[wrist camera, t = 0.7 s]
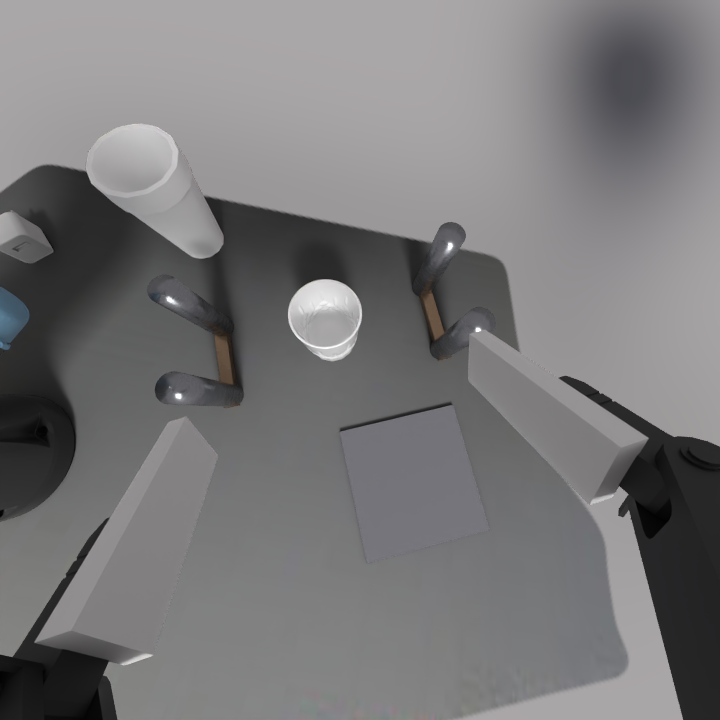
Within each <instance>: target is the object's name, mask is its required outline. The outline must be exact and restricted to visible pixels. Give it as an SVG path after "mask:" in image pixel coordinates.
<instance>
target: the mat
mask: <svg viewBox="0 0 720 720" xmlns="http://www.w3.org/2000/svg"><path fill="white" fill-rule="evenodd" d="M340 436H341V440H342V445H343V450H344V455H345V460H346V465H347V469H348V474H349V479H350V484H351V489H352V494H353V498H354V503H355V508H356V513H357V518H358V523H359V527H360V532H361V537H362V542H363V547H364V552H365V556H366V561H367V564H369V563H372V562H376V561H379V560H383V559H386V558H390V557H394V556H397V555H401V554H404V553H408V552H412V551H415V550H419V549H422V548H426V547H430V546H433V545H437V544H440V543H444V542H447V541H451V540H455V539H458V538H462V537H465V536H469V535H473V534H476V533H480V532H483V531H487V530H490V529H489V525H488V522H487V519H486V515H485V512H484V508H483V505H482V502H481V498H480V495H479V491H478V488H477V485H476V481H475V478H474V474H473V471H472V468H471V464H470V461H469V457H468V454H467V450H466V447H465V444H464V440H463V437H462V433H461V430H460V427H459V423H458V420H457V416H456V413H455V410H454V406H453V405H449V406H445V407H441V408H437V409H433V410H428V411H424V412H420V413H416V414H412V415H407V416H403V417H399V418H395V419H391V420H386V421H382V422H378V423H374V424H370V425H365V426H361V427H357V428H353V429H349V430H344V431H340Z"/></svg>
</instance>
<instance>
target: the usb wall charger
mask: <svg viewBox="0 0 720 720" xmlns="http://www.w3.org/2000/svg"><path fill="white" fill-rule="evenodd" d="M0 251H1V252H3V253H6V254H8V255H10V256H12V257H14V258H17V259H19V260H21V261H23V262H25V263H34V262H36V261H38V260H40V259H42V258H43V257H45V256H47V255H49V254H51V253H53V249H52V247H51V245H50V244H49V242H48V240H47V239H46V237H45V235H44V234H43V232H42V230H41V229H40V228H39V227H38V226H36V225H34V224H33V223H31V222H29V221H27V220H26V219H24V218H22V217H21V216H19V215H18V214H17V213H16V212H14V211H12V210H11V212H6V213H4V214H2V215H0Z"/></svg>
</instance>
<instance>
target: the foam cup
mask: <svg viewBox="0 0 720 720" xmlns="http://www.w3.org/2000/svg"><path fill="white" fill-rule="evenodd" d="M85 169H86V172H87V174H88V176H89V179H90V181H91V184H93V185H94V186H95V187H96V188H97V189H98V190H99V191H101V192H102V193H103V194H104V195H105V196H106V197H107V198H109V199H110V200H111V201H112V202H113V203H115V204H116V205H117V206H119V207H120V208H122V209H123V210H124V211H126V212H130V213H131V214H133V215H134V216H136V217H137V218H138V219H140V220H141V221H143V222H144V223H145V224H147V225H148V226H150V227H151V228H152V229H154V230H155V231H157V232H158V233H159V234H161V235H162V236H164V237H165V238H166V239H168V240H169V241H171V242H172V243H173V244H175V245H176V246H178V247H179V248H180V249H182V250H183V251H185V252H186V253H187V254H189V255H190V256H192V257H194V258H200V259H203V258H208V257H211V256H213V255H214V254H216V253H217V252H219V250H220V248H221V247H222V245H223V240H224V235H223V233H222V231H221V229H220V227H219V225H218V223H217V221H216V219H215V217H214V215H213V214H212V212H211V210H210V208H209V206H208V204H207V202H206V200H205V198H204V196H203V194H202V192H201V190H200V188H199V186H198V185H197V183H196V181H195V179H194V177H193V175H192V170H191V168H190V166H189V164H188V162H187V160H186V158H185V156H184V155H183V153H182V152H181V150H180V149H179V147H178V145H177V144H176V142H175V141H174V139H173V138H172V137H171V136H170V135H169V134H167V133H166V132H164V131H163V130H161V129H160V128H158V127H156V126H150V125H145V124H140V123H137V124H131V125H125V126H119V127H117V128H115V129H113V130H111V131H109V132H108V133H106V134H104V135H102V136H101V137H100V138H99V139H98V140H97V141H96V143H95V144H94V145H93V146H92V148H91V149H90V150H89V151H88V156H87V161H86V166H85Z"/></svg>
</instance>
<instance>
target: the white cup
mask: <svg viewBox="0 0 720 720" xmlns="http://www.w3.org/2000/svg"><path fill="white" fill-rule="evenodd" d="M361 318H362V309H361V304H360V301H359V299H358V297H357V296H356V294H355V293H354V292H353V290H352V289H350V288H349V287H348V286H347V285H345V284H343V283H341V282H339V281H335V280H330V279H321V280H316V281H312V282H310V283H308V284H306V285H304V286H303V287H302V288H300V289H299V290H298V291H297V292H296V294H295V295H294V296H293V298H292V300H291V302H290V305H289V310H288V320H289V324H290V327H291V329H292V331H293V333H294V334H295V335H296V336H297V338H298V339H299V340H300V341H301V342H302V343H303V344H304V345H305V346H306V347H307V348H308V349H309V350H310V351H311V352H313V353H314V354H315V355H317V356H318V357H319V358H321V359H323V360H328V361H336V360H340V359H343V358H344V357H345V356H347V355H348V354H349V353H351V351H352V349H353V347H354V344H355V342H356V339H357V336H358V332H359V328H360V323H361Z"/></svg>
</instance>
